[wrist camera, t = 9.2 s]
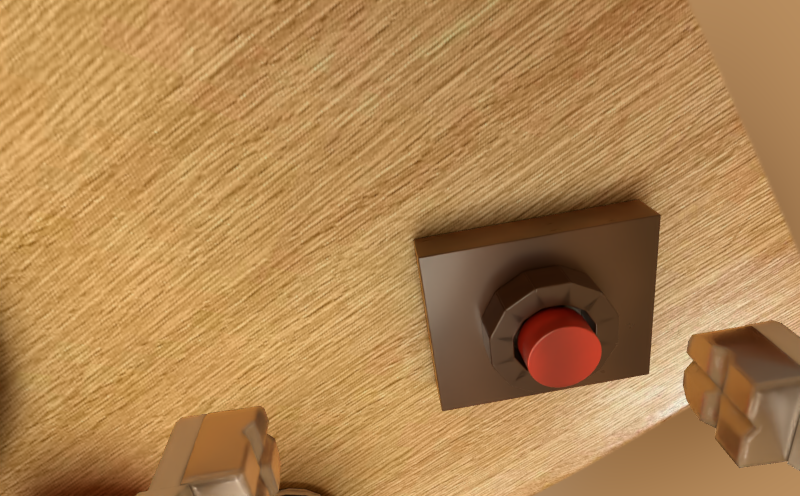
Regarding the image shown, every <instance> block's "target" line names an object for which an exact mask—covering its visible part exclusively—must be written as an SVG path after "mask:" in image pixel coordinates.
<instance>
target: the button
mask: <svg viewBox="0 0 800 496" xmlns="http://www.w3.org/2000/svg"><path fill="white" fill-rule="evenodd" d="M518 349H519V352H520V354H521V356H522V358H523V360H524V362H525V364H526V367H527V369H528V371H529V373H530V375H531V376H532V377H533V378H534V379H535V380H536V381H537V382H539V383H540V384H542V385H545V386H548V387H555V388H560V387H567V386H571V385H574V384H576V383H579V382H580V381H582V380H584V379H585V378H587V377H588V376H589V375H590V374H591V373H592V372H593V371H594V370H595V368H596V367H597V365H598V364H599V361H600V359H601V354H602V348H601V343H600V341H599V339H598V337H597V336H596V334H595V333H594V332H593V330H592V329H591V327H590V326H589V325H588V323H587V322H586V320H585V319H584V318H583V316H582V315H581V314H579V313H578V312H577V311H575V310H573V309H570V308H566V307H551V308H547V309H544V310H542V311H539V312H537V313H536V314H534V315H533V316H531V317H530V318H529V319H528V320H527V321H526V322H525V323H524V325H523V326H522V328H521V330H520V332H519V335H518Z"/></svg>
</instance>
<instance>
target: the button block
mask: <svg viewBox="0 0 800 496" xmlns="http://www.w3.org/2000/svg"><path fill="white" fill-rule="evenodd" d="M659 229H660V214H658V213H657V212H656V211H654V210H653V209H652V208H650V207H649V206H647V205H646V204H645V203H643V202H642V201H640V200H639V199H638V200H632V201H626V202H621V203H615V204H609V205H604V206H598V207H592V208H587V209H581V210H576V211H570V212H564V213H559V214H553V215H547V216H542V217H536V218H531V219H525V220H519V221H514V222H508V223H502V224H497V225H491V226H486V227H480V228H474V229H469V230H463V231H457V232H452V233H446V234H441V235H435V236H429V237H424V238H418V239H414V240H413V241H414V248H415V254H416V260H417V266H418V273H419V279H420V285H421V291H422V297H423V304H424V310H425V316H426V322H427V329H428V335H429V341H430V347H431V354H432V360H433V366H434V372H435V379H436V385H437V390H438V394H439V399H440V403H441V408H442V411H447V410H452V409H458V408H463V407H469V406H474V405H480V404H485V403H491V402H496V401H502V400H508V399H513V398H519V397H524V396H530V395H535V394H541V393H546V392H552V391H558V390H563V389H569V388H574V387H580V386H585V385H591V384H596V383H602V382H608V381H613V380H619V379H624V378H630V377H635V376H641V375H646V374H649V366H650V352H651V339H652V325H653V311H654V298H655V284H656V270H657V257H658V243H659ZM551 307H566V308H570V309H573V310H575V311H577V312H578V313H579V314H581V315H582V316H583V318H584V319H585V320H586V322H587V323H588V325H589V326H590V327H591V329H592V330H593V332H594V333H595V334H596V336H597V337H598V339H599V341H600V343H601V348H602V354H601V359H600V361H599V364H598V365H597V367H596V368H595V370H594V371H593V372H592V373H591V374H590V375H589V376H588V377H587V378H585V379H584V380H582V381H580V382H579V383H576V384H574V385H571V386H567V387H560V388H555V387H548V386H545V385H542V384H540V383H539V382H537V381H536V380H535V379H534V378H533V377H532V376H531V375H530V373H529V371H528V369H527V367H526V364H525V362H524V360H523V358H522V356H521V354H520V352H519V349H518V335H519V332H520V330H521V328H522V326H523V325H524V323H525V322H526V321H527V320H528V319H529V318H530V317H531V316H533V315H534V314H536V313H537V312H539V311H542V310H544V309H547V308H551Z"/></svg>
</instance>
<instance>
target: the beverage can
mask: <svg viewBox="0 0 800 496" xmlns="http://www.w3.org/2000/svg"><path fill="white" fill-rule="evenodd" d="M275 496H321V495H320V494H318V493H315V492H312V491H309V490H306V489H292V488H288V489H284V490H280V491H278V492H277V493H276V494H275Z"/></svg>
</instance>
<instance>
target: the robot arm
mask: <svg viewBox="0 0 800 496" xmlns="http://www.w3.org/2000/svg"><path fill="white" fill-rule="evenodd" d="M687 353H688V355H689V356H690V357H691V358H692V359H693V361H692V363H691V364H690V365H689V366H688V367H687V368H686V370H685V371H684V379H683V387H684V391H685V395H686V399H687V401H688V403H689V405H690V407H691V409H692V411H693V412H694V413H695V414H696V416H697V417H698V418H699V420H700V421H703V422H704V423H706V424H708V425H711V426H713V427H715V428H716V434H715V439H716V440H717V442H718V443H719V444H720V445H721V447H722V448H723V449H724V450H725V451H726V453H727V454H728V455H729V456H730V457H731V458H732V460H733V461H734V462H735V464H736V465H737V466H738V467H739V468H742V467H749V466H756V465H763V464H771V463H778V462H785V461H788V464H789V465H791V466H792V467H794V468H796V469H798V470H799V471H800V337H799V336H798V335H796V334H795V333H794V332H792V331H791V330H790V329H788V328H787V327H786V326H785V325H783V324H782V323H780V322H776V321H773V320H771V321H765V322H760V323H755V324H749V325H745V326H741V327H735V328H729V329H724V330H718V331H712V332H706V333H700V334H694V335H692V336H691V338H690V340H689V341H688V347H687ZM268 424H269V420H268V417H267V415H266V412H265V409H264V408H263V407H261V406H256V407H248V408H241V409H234V410H227V411H220V412H213V413H208V414H202V415H195V416H188V417H182V418H180V419H179V420H178V421H177V422H176V423H175V425H174V428H173V430H172V433H171V435H170V438H169V440H168V442H167V445H166V447H165V450H164V452H163V454H162V457H161V459H160V462H159V464H158V467H157V469H156V471H155V474H154V476H153V479H152V481H151V484H150V486H149V488H148V491H144V492H139V493H138V494H137V495H136V496H275V494H276V493H277V492H278V491H279V484H280V457H279V452H278V447H277V444H276V441H275V439H274V438H273V437H271V436H270V435H268V434H267V429H268Z"/></svg>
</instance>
